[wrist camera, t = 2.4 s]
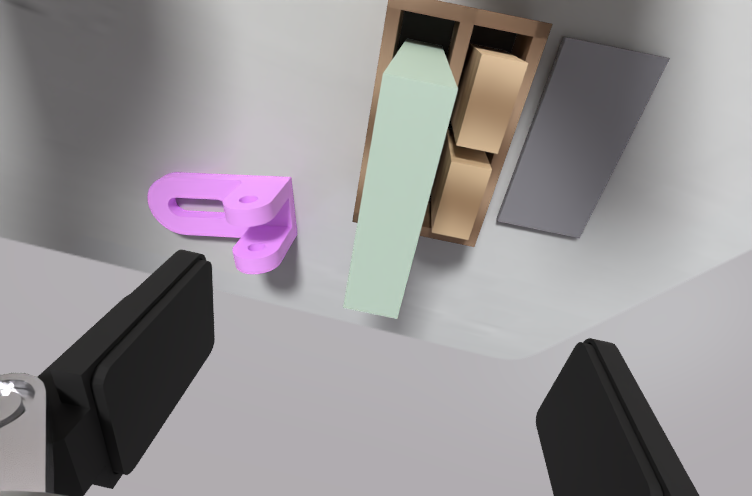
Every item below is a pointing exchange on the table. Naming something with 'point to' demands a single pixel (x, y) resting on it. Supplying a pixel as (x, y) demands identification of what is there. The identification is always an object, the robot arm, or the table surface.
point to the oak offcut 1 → (486, 97)
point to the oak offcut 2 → (458, 188)
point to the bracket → (232, 213)
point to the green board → (399, 175)
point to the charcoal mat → (578, 134)
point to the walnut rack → (524, 47)
